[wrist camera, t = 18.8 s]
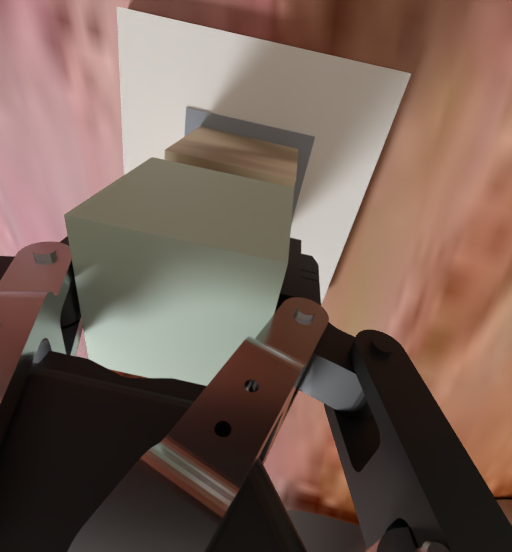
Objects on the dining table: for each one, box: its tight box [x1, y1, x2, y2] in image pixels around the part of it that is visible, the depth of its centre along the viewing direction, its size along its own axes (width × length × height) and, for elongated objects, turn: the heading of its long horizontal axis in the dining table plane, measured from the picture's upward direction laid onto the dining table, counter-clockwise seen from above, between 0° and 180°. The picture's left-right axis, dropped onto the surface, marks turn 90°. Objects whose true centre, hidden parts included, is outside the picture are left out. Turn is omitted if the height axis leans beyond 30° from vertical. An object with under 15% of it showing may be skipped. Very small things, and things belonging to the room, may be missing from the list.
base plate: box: [117, 7, 411, 303], centre depth 18 cm, size 13×13×1 cm
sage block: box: [64, 157, 294, 386], centre depth 11 cm, size 5×5×5 cm
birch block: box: [164, 126, 298, 188], centre depth 16 cm, size 5×5×5 cm
